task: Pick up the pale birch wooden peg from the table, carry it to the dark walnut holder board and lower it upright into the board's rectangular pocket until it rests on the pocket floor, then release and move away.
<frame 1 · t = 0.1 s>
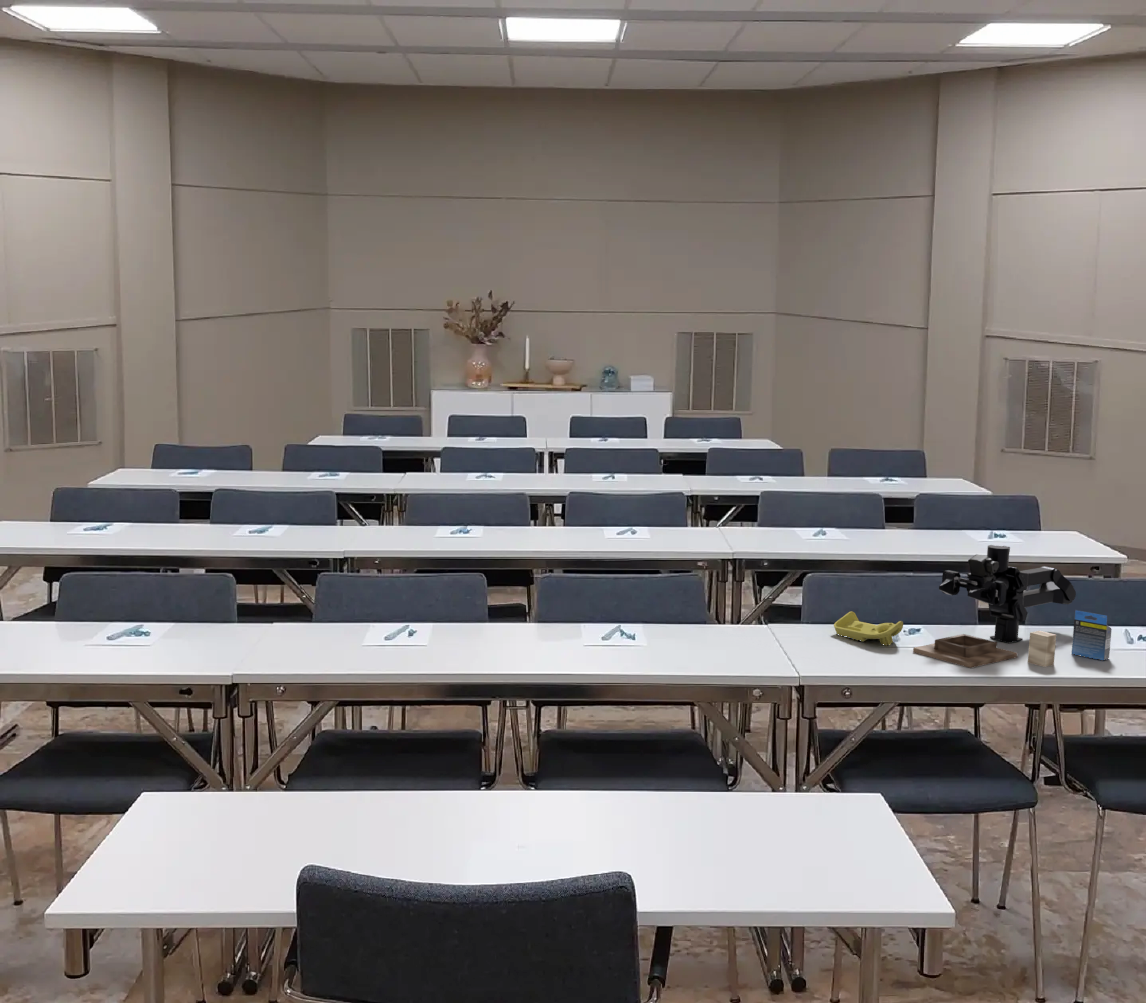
hand: (953, 591, 339), 17 cm above the table, tool horizontal, fingers open, 9 cm apart
birch peg: (1040, 663, 333), on the table
plastic component: (868, 641, 352), on the table
blue retail box: (1090, 657, 341), on the table
holder board: (964, 654, 339), on the table
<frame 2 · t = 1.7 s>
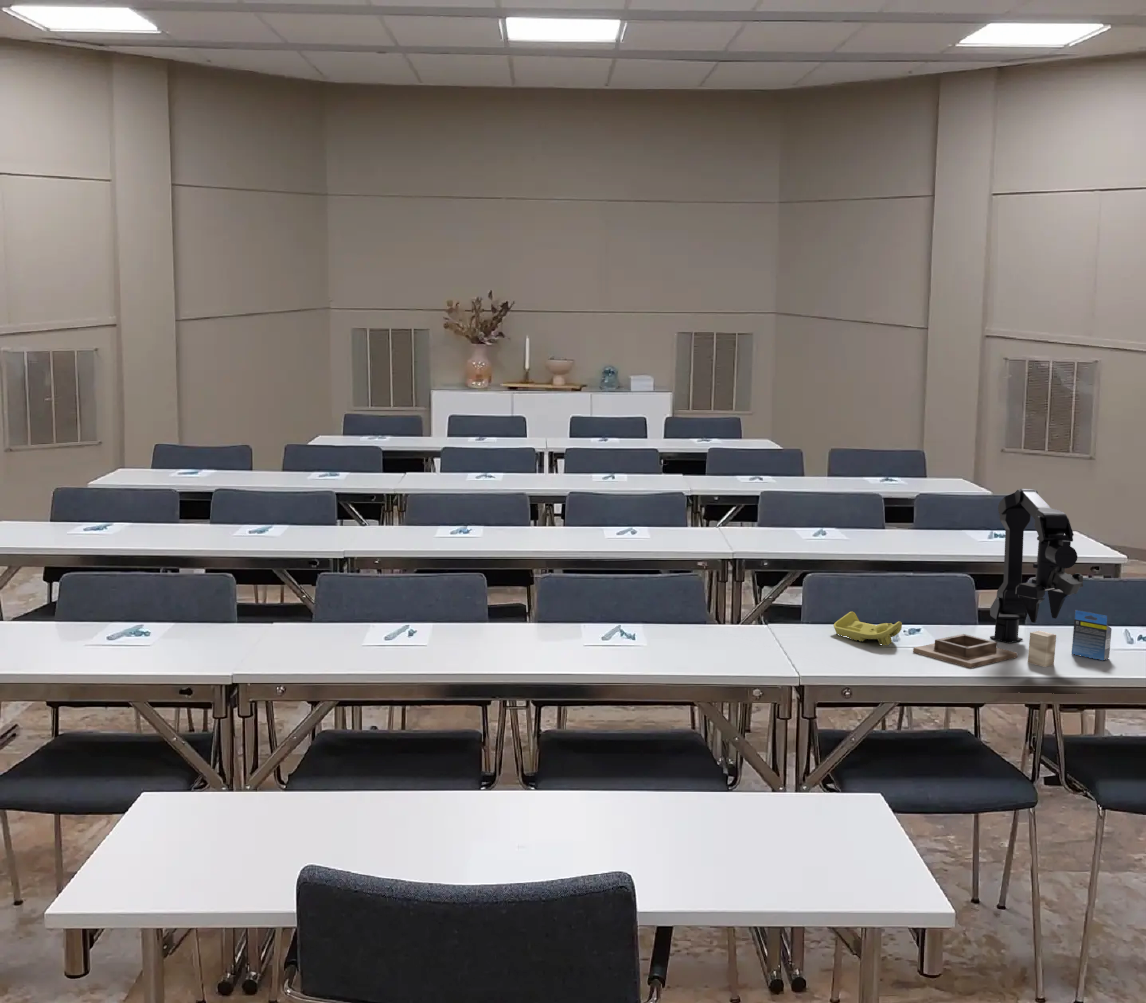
hand: (1043, 620, 331), 11 cm above the table, tool pointing down, fingers open, 9 cm apart
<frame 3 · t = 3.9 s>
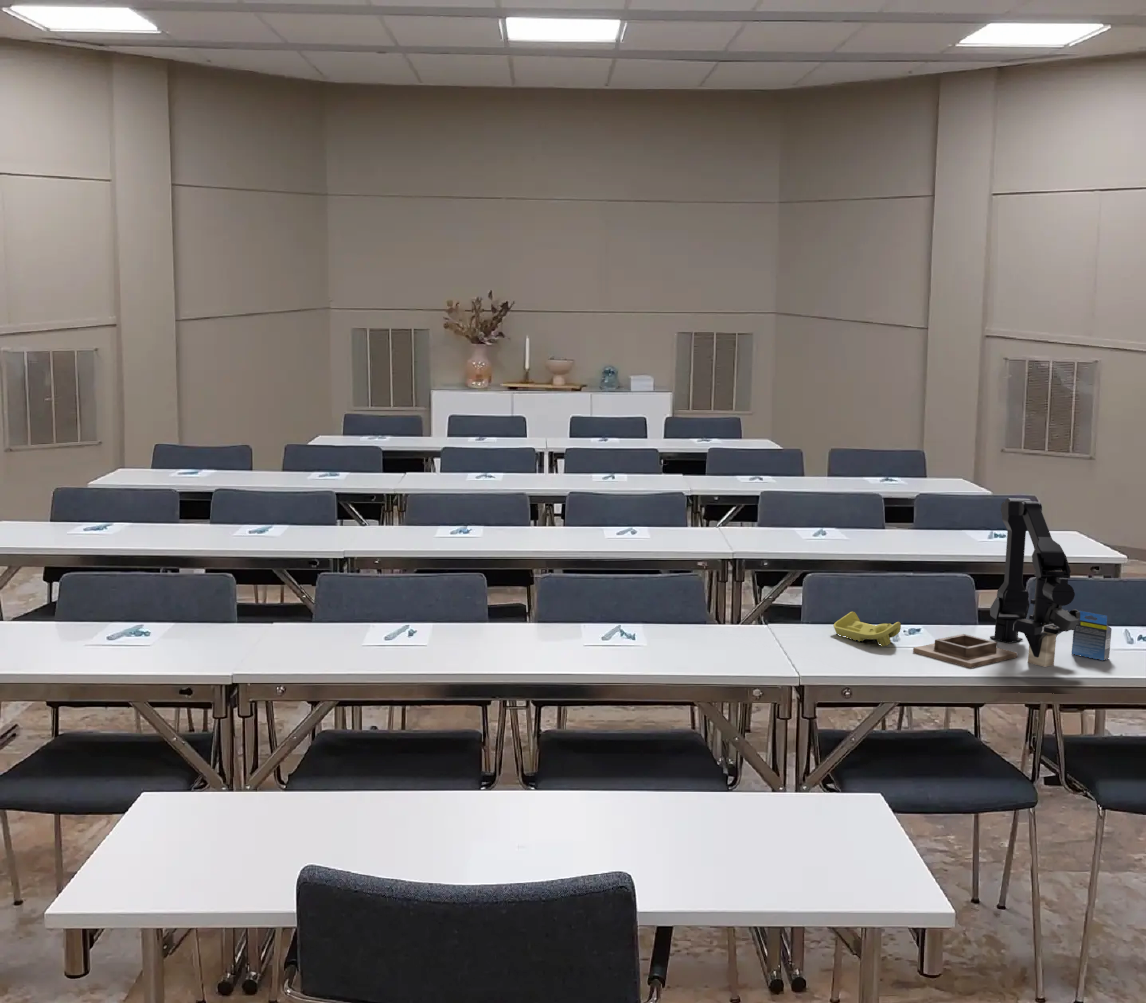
hand: (1041, 655, 332), 2 cm above the table, tool pointing down, fingers closed on birch peg, 4 cm apart
birch peg: (1040, 663, 333), on the table, touching gripper
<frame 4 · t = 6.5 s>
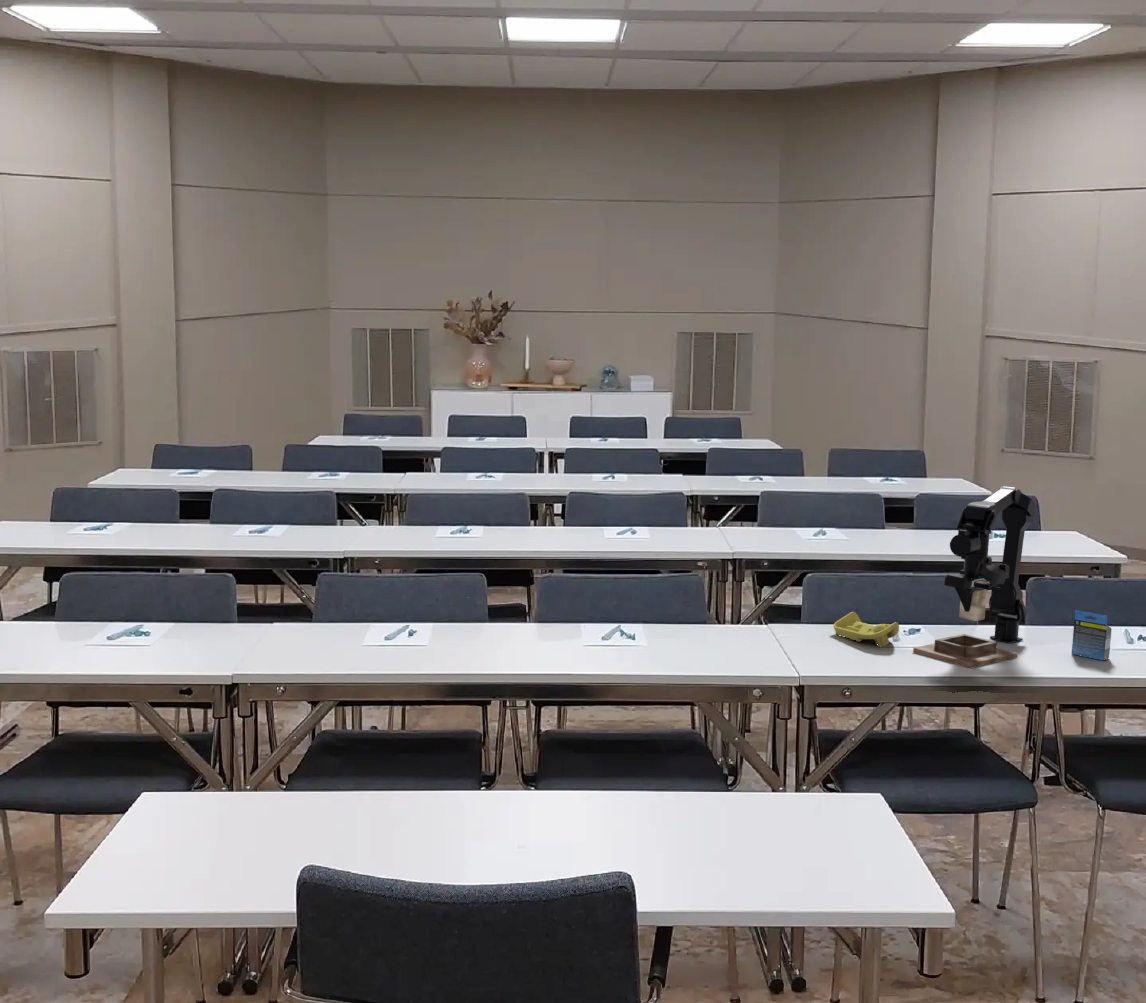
hand: (972, 610, 337), 12 cm above the table, tool pointing down, fingers closed on birch peg, 4 cm apart
birch peg: (971, 618, 337), point 10 cm above the table, touching gripper
when the fingers open (4 cm above the table, at t = 9.0 s): birch peg drops 1 cm, resting on holder board.
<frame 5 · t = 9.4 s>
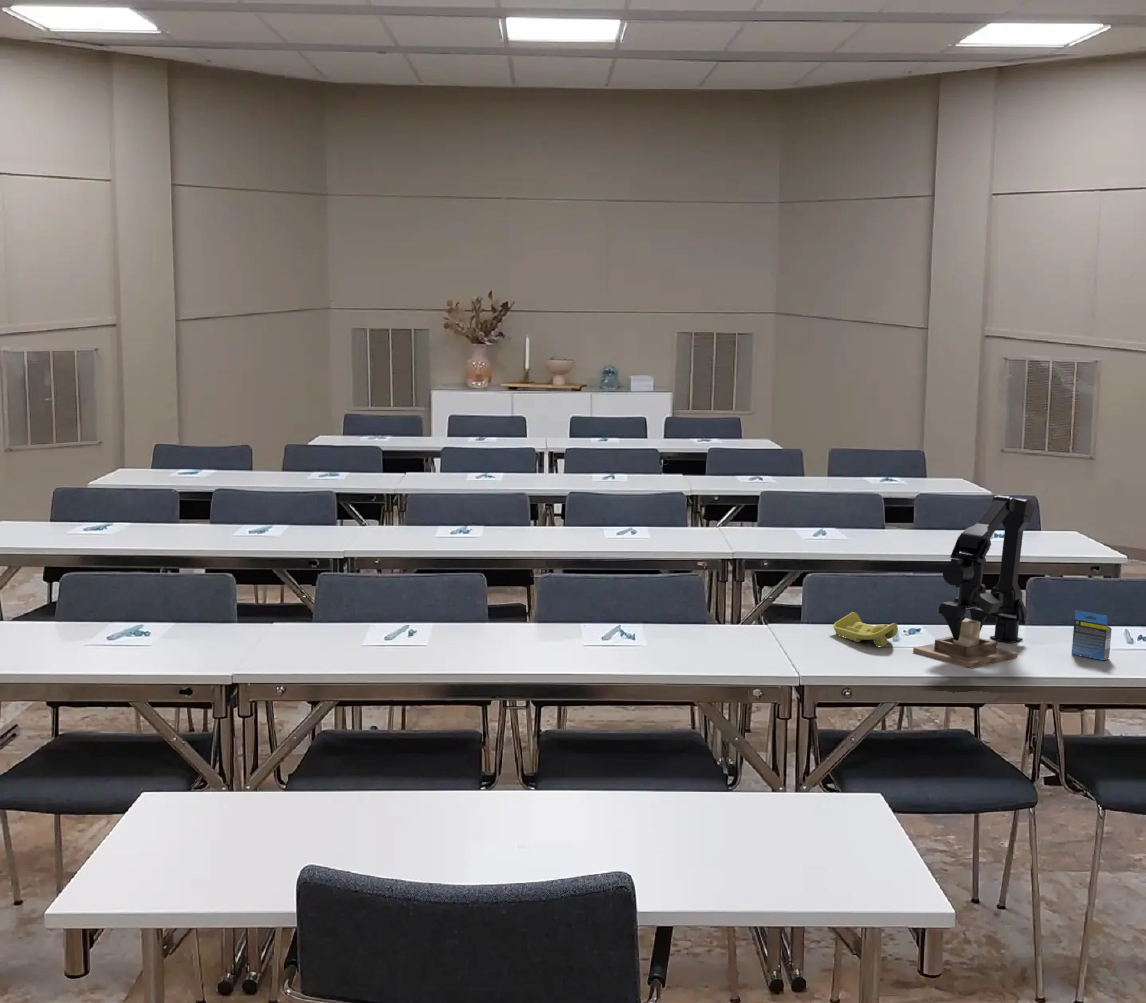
hand: (966, 638, 339), 4 cm above the table, tool pointing down, fingers open, 8 cm apart
birch peg: (965, 650, 339), point 1 cm above the table, touching holder board
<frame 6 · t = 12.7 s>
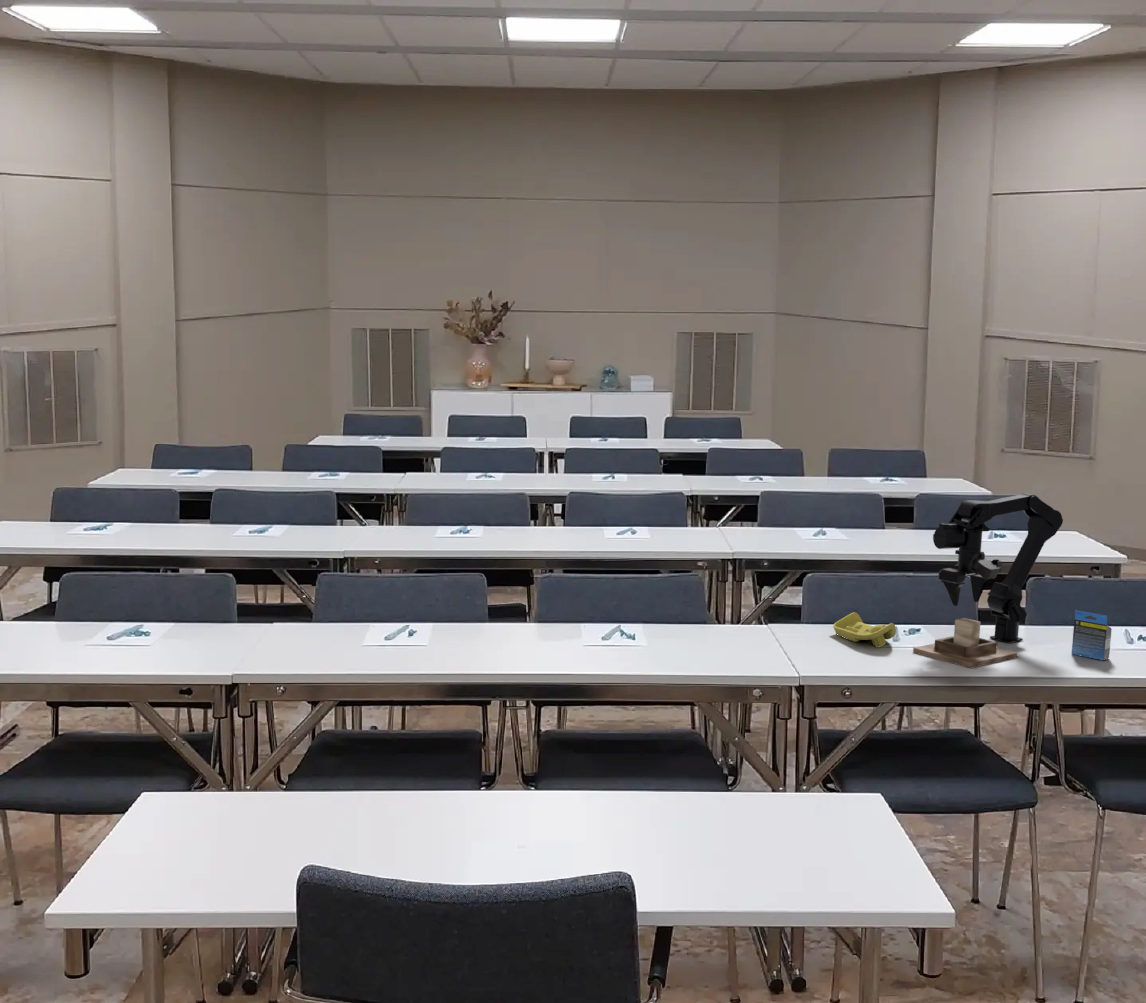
hand: (965, 603, 350), 11 cm above the table, tool pointing down, fingers open, 9 cm apart
at the end: birch peg 0.1 cm off-centre on the holder board, point 1.2 cm above the holder board's base; birch peg tilted 0°; the gripper is holding nothing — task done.
